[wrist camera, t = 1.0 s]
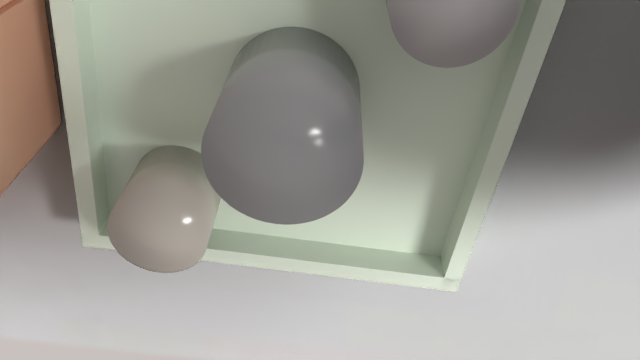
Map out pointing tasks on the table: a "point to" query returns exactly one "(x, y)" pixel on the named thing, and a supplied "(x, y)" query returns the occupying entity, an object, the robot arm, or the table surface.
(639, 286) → the table surface
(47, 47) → the bowl
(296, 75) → the grey rounded cylinder
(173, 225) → the pebble
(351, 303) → the table surface
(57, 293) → the table surface
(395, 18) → the pebble
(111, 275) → the table surface
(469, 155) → the tray
